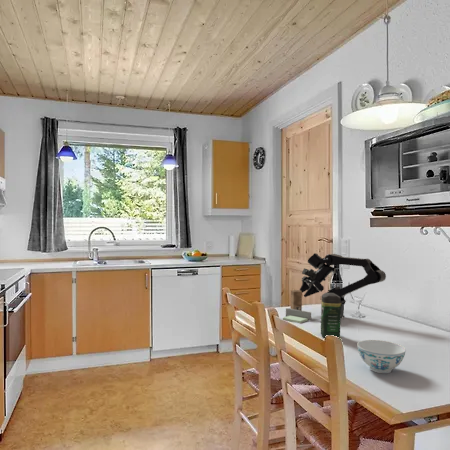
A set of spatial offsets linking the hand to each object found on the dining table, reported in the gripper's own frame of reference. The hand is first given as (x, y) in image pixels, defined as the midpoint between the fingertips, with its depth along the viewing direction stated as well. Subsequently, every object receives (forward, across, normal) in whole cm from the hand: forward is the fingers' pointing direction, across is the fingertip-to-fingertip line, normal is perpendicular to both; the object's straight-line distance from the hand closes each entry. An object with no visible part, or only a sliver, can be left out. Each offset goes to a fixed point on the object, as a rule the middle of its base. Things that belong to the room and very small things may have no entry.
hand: (301, 295), depth 211 cm
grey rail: (+10, +6, +5) cm, 13 cm away
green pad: (+12, +10, +3) cm, 16 cm away
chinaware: (+8, +78, +8) cm, 79 cm away
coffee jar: (+8, +39, +7) cm, 41 cm away
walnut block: (+10, 0, +5) cm, 11 cm away
